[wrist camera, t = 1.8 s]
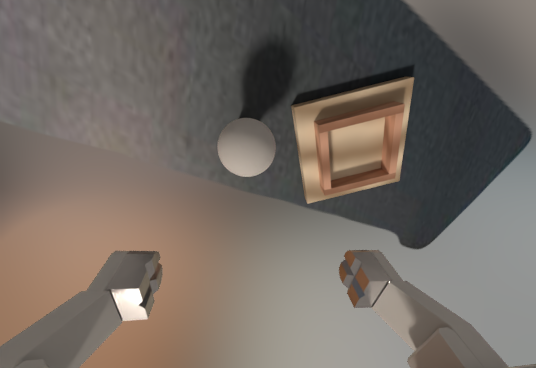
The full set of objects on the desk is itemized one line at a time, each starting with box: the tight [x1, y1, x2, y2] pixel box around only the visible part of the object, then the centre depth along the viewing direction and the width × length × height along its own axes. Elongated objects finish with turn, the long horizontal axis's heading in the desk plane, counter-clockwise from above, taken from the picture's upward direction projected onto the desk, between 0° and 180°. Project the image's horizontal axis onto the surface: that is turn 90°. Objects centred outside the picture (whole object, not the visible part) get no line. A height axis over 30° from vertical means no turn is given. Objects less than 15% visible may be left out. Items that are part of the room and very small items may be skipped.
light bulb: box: [218, 118, 276, 177], centre depth 23 cm, size 6×6×10 cm
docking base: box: [291, 77, 414, 203], centre depth 28 cm, size 15×15×4 cm
